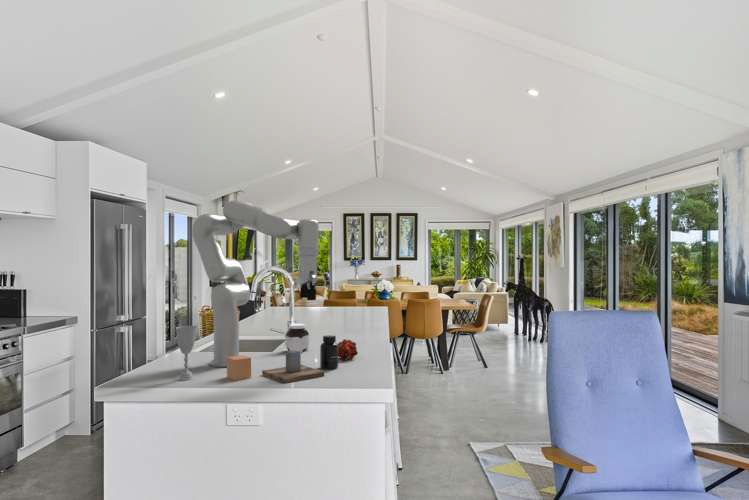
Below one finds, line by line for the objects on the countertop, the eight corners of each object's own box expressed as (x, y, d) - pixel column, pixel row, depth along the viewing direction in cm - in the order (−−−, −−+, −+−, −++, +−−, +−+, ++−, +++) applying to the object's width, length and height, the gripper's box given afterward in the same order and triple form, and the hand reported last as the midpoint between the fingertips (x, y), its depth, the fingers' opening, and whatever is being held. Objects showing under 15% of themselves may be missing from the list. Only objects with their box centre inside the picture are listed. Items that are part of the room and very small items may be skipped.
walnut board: (262, 374, 191) (262, 370, 191) (300, 368, 201) (300, 364, 201) (284, 383, 178) (284, 378, 178) (324, 375, 188) (324, 371, 188)
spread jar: (302, 348, 243) (302, 322, 243) (316, 351, 234) (316, 325, 234) (279, 351, 235) (279, 325, 235) (292, 355, 227) (292, 328, 227)
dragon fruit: (348, 359, 225) (348, 369, 213) (332, 348, 224) (331, 357, 212) (360, 343, 224) (360, 353, 213) (344, 332, 223) (343, 341, 212)
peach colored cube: (227, 377, 187) (226, 357, 187) (243, 374, 191) (243, 354, 191) (234, 380, 183) (234, 359, 183) (251, 377, 187) (251, 357, 187)
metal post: (285, 371, 190) (285, 351, 190) (295, 369, 192) (294, 350, 192) (291, 372, 187) (291, 353, 187) (300, 371, 189) (300, 351, 189)
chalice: (190, 375, 190) (190, 325, 190) (201, 378, 186) (200, 326, 186) (171, 379, 184) (171, 327, 185) (182, 382, 180) (181, 329, 180)
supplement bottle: (335, 370, 198) (335, 337, 198) (317, 369, 199) (317, 337, 199) (340, 366, 205) (340, 335, 205) (323, 365, 206) (323, 334, 206)
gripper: (292, 252, 203) (292, 297, 204) (304, 253, 187) (303, 301, 187) (311, 252, 206) (311, 296, 206) (324, 253, 190) (324, 300, 190)
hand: (307, 298), depth 197 cm, fingers open, 9 cm apart
